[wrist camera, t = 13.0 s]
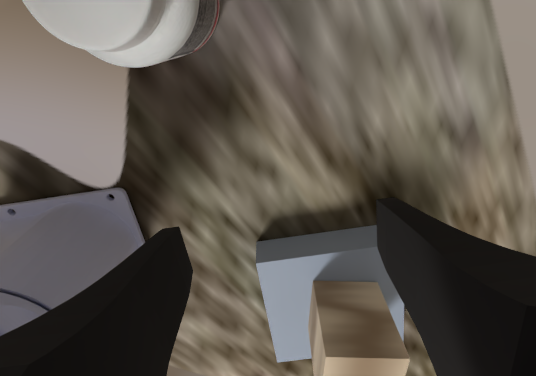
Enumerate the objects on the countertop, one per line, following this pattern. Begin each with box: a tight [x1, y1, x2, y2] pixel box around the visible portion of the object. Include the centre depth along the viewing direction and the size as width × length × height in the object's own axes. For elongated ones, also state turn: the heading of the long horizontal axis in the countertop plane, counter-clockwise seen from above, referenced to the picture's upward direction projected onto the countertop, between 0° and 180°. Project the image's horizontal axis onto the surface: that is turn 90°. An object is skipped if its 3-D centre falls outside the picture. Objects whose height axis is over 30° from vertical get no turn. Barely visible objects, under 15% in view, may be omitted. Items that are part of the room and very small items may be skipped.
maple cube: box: [308, 281, 410, 376], centre depth 21 cm, size 4×4×6 cm
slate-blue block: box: [256, 225, 404, 362], centre depth 26 cm, size 10×10×3 cm
